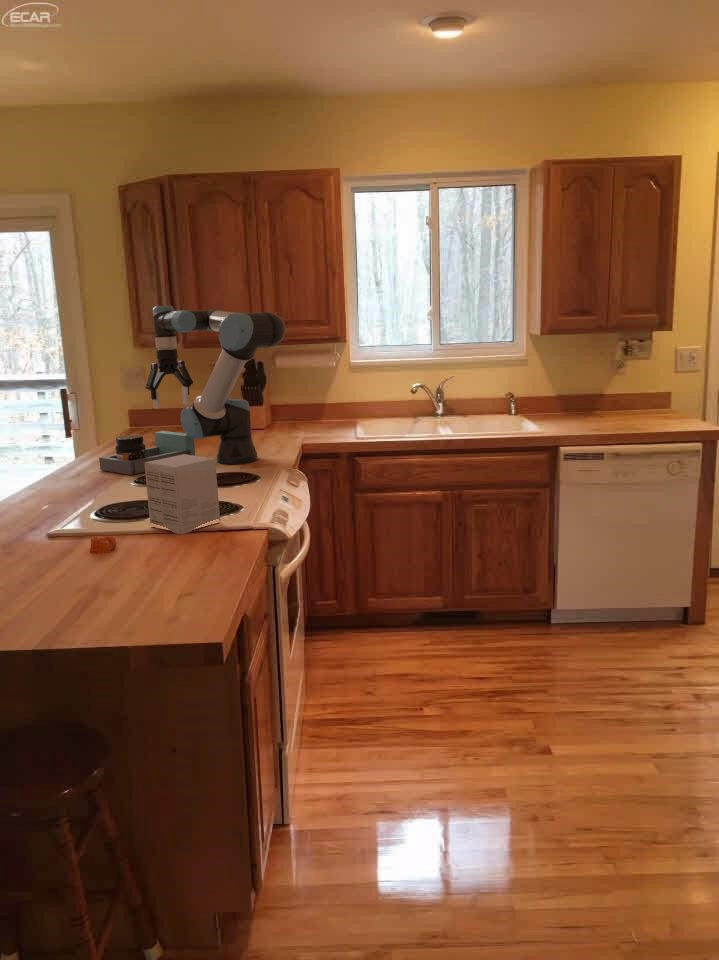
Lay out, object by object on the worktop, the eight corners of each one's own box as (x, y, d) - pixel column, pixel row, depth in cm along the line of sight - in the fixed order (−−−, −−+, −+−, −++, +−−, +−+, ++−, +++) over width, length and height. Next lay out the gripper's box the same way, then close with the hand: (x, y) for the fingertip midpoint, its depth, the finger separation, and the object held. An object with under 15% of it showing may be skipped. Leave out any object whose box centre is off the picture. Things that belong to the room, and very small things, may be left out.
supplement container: (116, 473, 276) (113, 440, 273) (118, 468, 286) (114, 435, 283) (147, 471, 278) (144, 438, 276) (148, 465, 288) (144, 433, 286)
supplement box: (189, 516, 214) (184, 453, 211) (221, 523, 206) (216, 458, 202) (149, 527, 204) (142, 461, 201) (180, 535, 196) (174, 467, 192)
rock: (137, 544, 192) (135, 527, 191) (120, 560, 180) (118, 542, 179) (89, 545, 193) (87, 528, 192) (69, 560, 181) (67, 543, 180)
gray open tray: (195, 460, 293) (193, 434, 291) (130, 474, 271) (127, 446, 269) (165, 456, 304) (163, 431, 302) (100, 469, 282) (97, 442, 280)
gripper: (186, 346, 300) (191, 401, 304) (132, 350, 281) (137, 409, 285) (199, 346, 295) (204, 402, 300) (144, 350, 276) (150, 410, 281)
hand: (171, 406), depth 293 cm, fingers open, 13 cm apart
